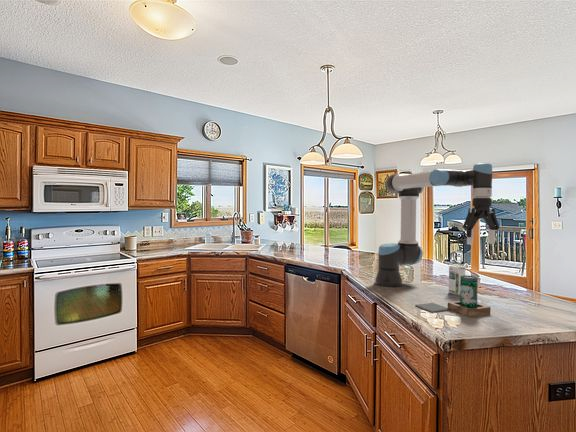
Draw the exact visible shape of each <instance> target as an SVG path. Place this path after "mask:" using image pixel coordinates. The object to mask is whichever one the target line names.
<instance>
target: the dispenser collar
mask: <svg viewBox="0 0 576 432" xmlns="http://www.w3.org/2000/svg"><path fill="white" fill-rule="evenodd" d="M447 308H449V309H450V310H449V311H452V312H455V313H458V314H460V315H463V316H466V317H468V318H475V317H481V316H488V315H491V306H488V305H486V304H481V303H479V302H477V308H467V307H464V306H461V305H460V300H456V301H448V302H447Z"/></svg>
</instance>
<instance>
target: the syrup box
mask: <svg viewBox="0 0 576 432" xmlns="http://www.w3.org/2000/svg"><path fill="white" fill-rule="evenodd" d="M464 275H466V266H462V265H458V264H457V265H456V264H450V265H448V294H449V293H450V294H453V295H456V296H460V282H461V276H464Z"/></svg>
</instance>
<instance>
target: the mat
mask: <svg viewBox="0 0 576 432" xmlns="http://www.w3.org/2000/svg"><path fill="white" fill-rule="evenodd" d="M414 306H415V307H417V308H418V309H422V310H424V311H426V312H428V313H429V312H430V313H432V314H433V313H439V312H441V313H442V312H448V311H451V310H450V309H449V308H448V307H447V306H443V305H440V304H437V303H434V302H428V303H427V302H426V303H419V304H415V305H414Z"/></svg>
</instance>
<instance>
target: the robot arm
mask: <svg viewBox="0 0 576 432" xmlns="http://www.w3.org/2000/svg"><path fill="white" fill-rule="evenodd" d="M385 180H386V181H385V186H386V188H387V190H388V191H389V192H390V193H392V194H397V195H398V198H399V200H400V239H399V240H398V241H397V243H395V242H394V243H393V242H390V243H383V244H381V245H379V247H378V251H377V252H378V261H377V262H378V263H377V264H378V268H377V269H378V270H377V273H376V276H375V281H374V282H375V283H374V284H375V285H378V286H382V287H392V288H393V287H394V288H395V287H401V286H402V285H403V279H402V276H401V273H400V266H412V265H417V264H419V263H420V262H421V261H422V259H423V254H424V252H423V249H422V247H421V246H420V245H419V242H418V240H417V237H416V235H417V200H418V199H419V198H420V194H422V192H423V190H424V188H426V187H427V188H428V187H429V188H430V187H441V186H450V187H452V186H453V187H457V188H459V187H460V188H461V187H471V186H472V197H473V198H472V203H471V205H472V207H470V208H468V210H467V211H468V212H467V215H466V217H465V219H464V223H463V225H462V229H464V230H465V231H466V232H465V233H466V235H465V236H466V245H471V246H474V231H475V230H473V229H474V228H475V226H476V224H477V222H478V221H479V220H480V219H484V222H485V223H486V224H487V226H488V231H487V232H488V237H487V240H488V241H487V243H488V244H489V245H494V244H496V242H495V241H496V231H498V230H499V228H500V224H499V222H498V219H497V215H496V210H495V208H491V207H492V200H493V199H492V198H491V197H492V194H493V193H492V192H493V191H492V190H493V186H492V183H493V164H492V163H487V162H486V163H485V162H483V163H477V164H474V165H473V167H472V169H467V170H462V169H459V170H458V169H444V168H435V169H433V170H431V171H423V172H416V173H410V174H408V173H393V174H391V175H389V176H388V177H387V178H386V179H385Z"/></svg>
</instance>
